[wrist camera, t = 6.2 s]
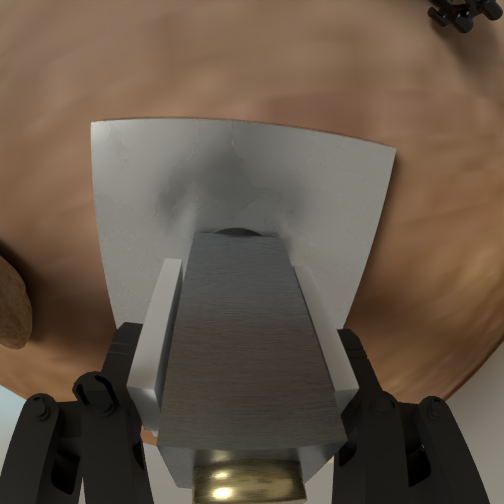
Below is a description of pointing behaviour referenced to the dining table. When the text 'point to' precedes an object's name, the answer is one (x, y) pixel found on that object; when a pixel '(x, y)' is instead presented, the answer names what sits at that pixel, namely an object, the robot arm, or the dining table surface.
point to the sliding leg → (245, 379)
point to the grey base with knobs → (233, 199)
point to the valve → (463, 13)
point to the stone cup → (13, 308)
